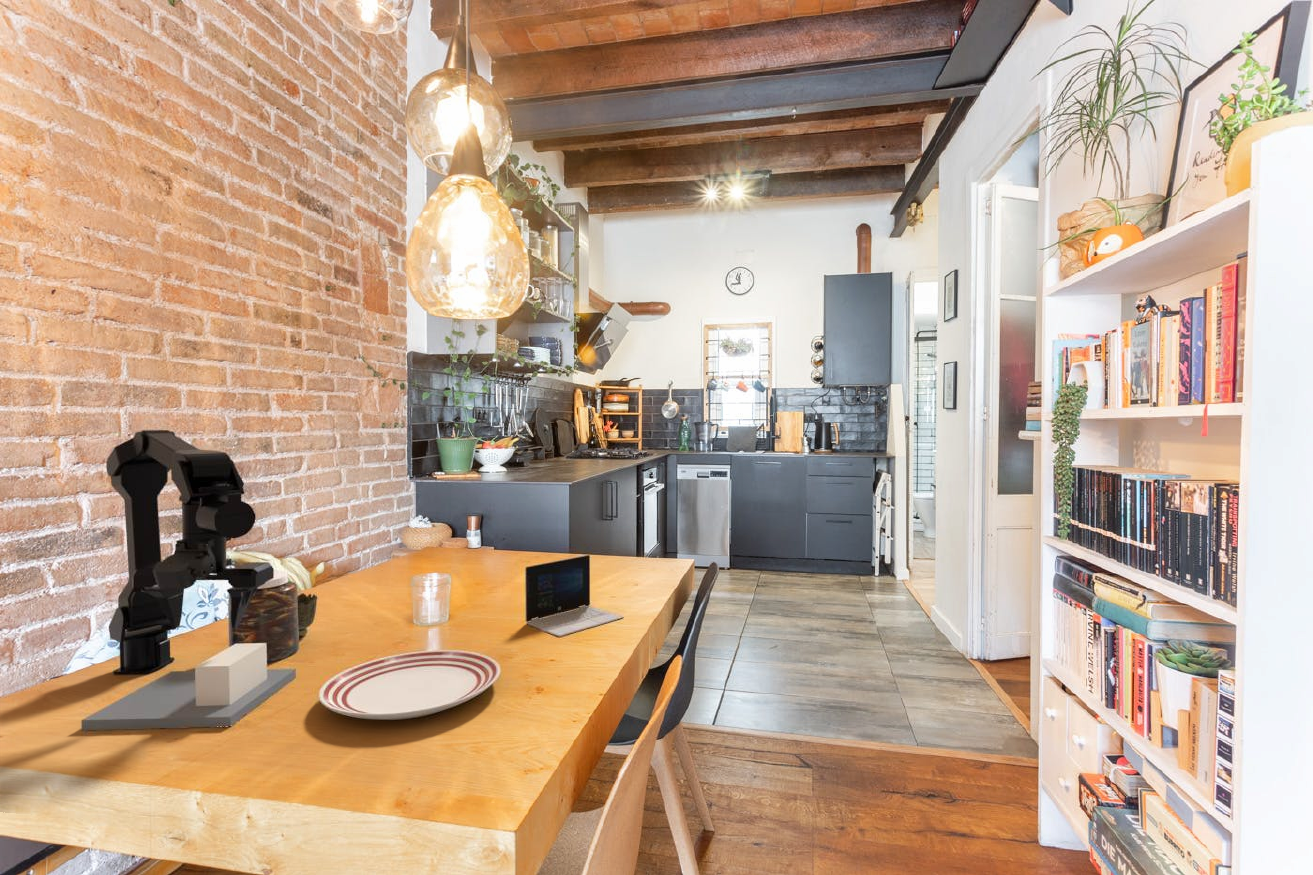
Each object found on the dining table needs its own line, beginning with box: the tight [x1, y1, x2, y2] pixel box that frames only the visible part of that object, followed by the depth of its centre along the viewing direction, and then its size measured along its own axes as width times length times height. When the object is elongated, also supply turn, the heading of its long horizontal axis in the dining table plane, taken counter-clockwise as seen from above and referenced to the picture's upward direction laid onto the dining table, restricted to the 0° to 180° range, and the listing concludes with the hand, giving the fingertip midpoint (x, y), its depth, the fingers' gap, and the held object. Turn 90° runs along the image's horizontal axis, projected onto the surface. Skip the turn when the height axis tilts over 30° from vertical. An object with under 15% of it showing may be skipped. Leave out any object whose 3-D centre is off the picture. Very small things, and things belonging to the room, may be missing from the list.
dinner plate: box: [318, 649, 501, 721], centre depth 103 cm, size 27×27×3 cm
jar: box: [227, 570, 300, 664], centre depth 122 cm, size 12×12×15 cm
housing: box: [194, 643, 268, 706], centre depth 101 cm, size 5×10×6 cm, turn 3°
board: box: [80, 668, 297, 731], centre depth 101 cm, size 21×18×2 cm
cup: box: [298, 592, 318, 638], centre depth 132 cm, size 8×7×8 cm
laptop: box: [524, 554, 624, 638], centre depth 141 cm, size 18×12×13 cm
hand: (205, 627), depth 102 cm, fingers open, 9 cm apart
